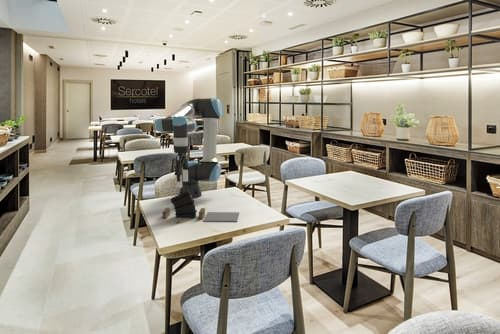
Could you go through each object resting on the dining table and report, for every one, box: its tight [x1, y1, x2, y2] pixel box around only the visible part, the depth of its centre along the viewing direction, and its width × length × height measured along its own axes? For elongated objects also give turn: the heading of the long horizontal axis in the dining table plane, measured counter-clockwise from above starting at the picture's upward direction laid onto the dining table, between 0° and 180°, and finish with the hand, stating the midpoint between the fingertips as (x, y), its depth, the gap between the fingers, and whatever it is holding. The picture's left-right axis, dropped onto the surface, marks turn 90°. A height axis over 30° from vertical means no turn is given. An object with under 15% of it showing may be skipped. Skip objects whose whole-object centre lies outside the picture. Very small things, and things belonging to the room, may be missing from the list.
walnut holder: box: [161, 207, 206, 220], centre depth 192 cm, size 22×7×4 cm, turn 87°
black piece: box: [170, 190, 198, 219], centre depth 191 cm, size 4×13×15 cm, turn 85°
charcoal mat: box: [202, 211, 240, 223], centre depth 191 cm, size 14×18×1 cm
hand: (182, 184), depth 189 cm, fingers open, 13 cm apart
